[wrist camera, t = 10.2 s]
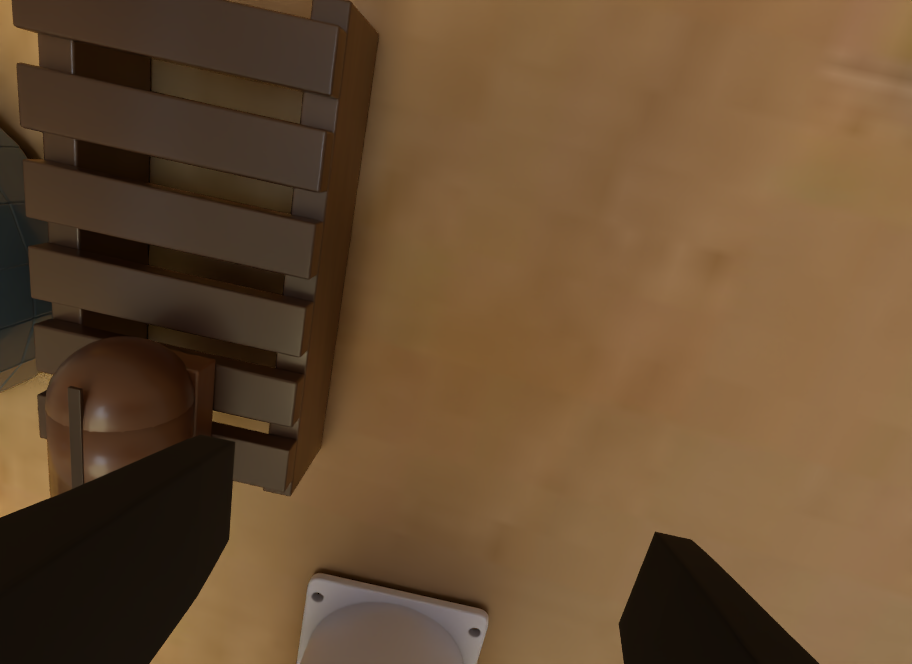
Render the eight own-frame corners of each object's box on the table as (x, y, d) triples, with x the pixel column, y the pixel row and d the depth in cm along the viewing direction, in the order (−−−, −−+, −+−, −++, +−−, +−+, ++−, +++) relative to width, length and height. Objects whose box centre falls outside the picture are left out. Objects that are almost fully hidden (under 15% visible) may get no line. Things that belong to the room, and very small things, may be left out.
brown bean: (211, 502, 17) (142, 582, 13) (111, 479, 17) (18, 555, 13) (221, 334, 15) (144, 381, 12) (108, 309, 15) (0, 349, 12)
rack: (321, 448, 20) (282, 510, 17) (122, 403, 20) (40, 456, 17) (379, 33, 16) (343, -9, 12) (120, -24, 16) (5, -83, 12)
